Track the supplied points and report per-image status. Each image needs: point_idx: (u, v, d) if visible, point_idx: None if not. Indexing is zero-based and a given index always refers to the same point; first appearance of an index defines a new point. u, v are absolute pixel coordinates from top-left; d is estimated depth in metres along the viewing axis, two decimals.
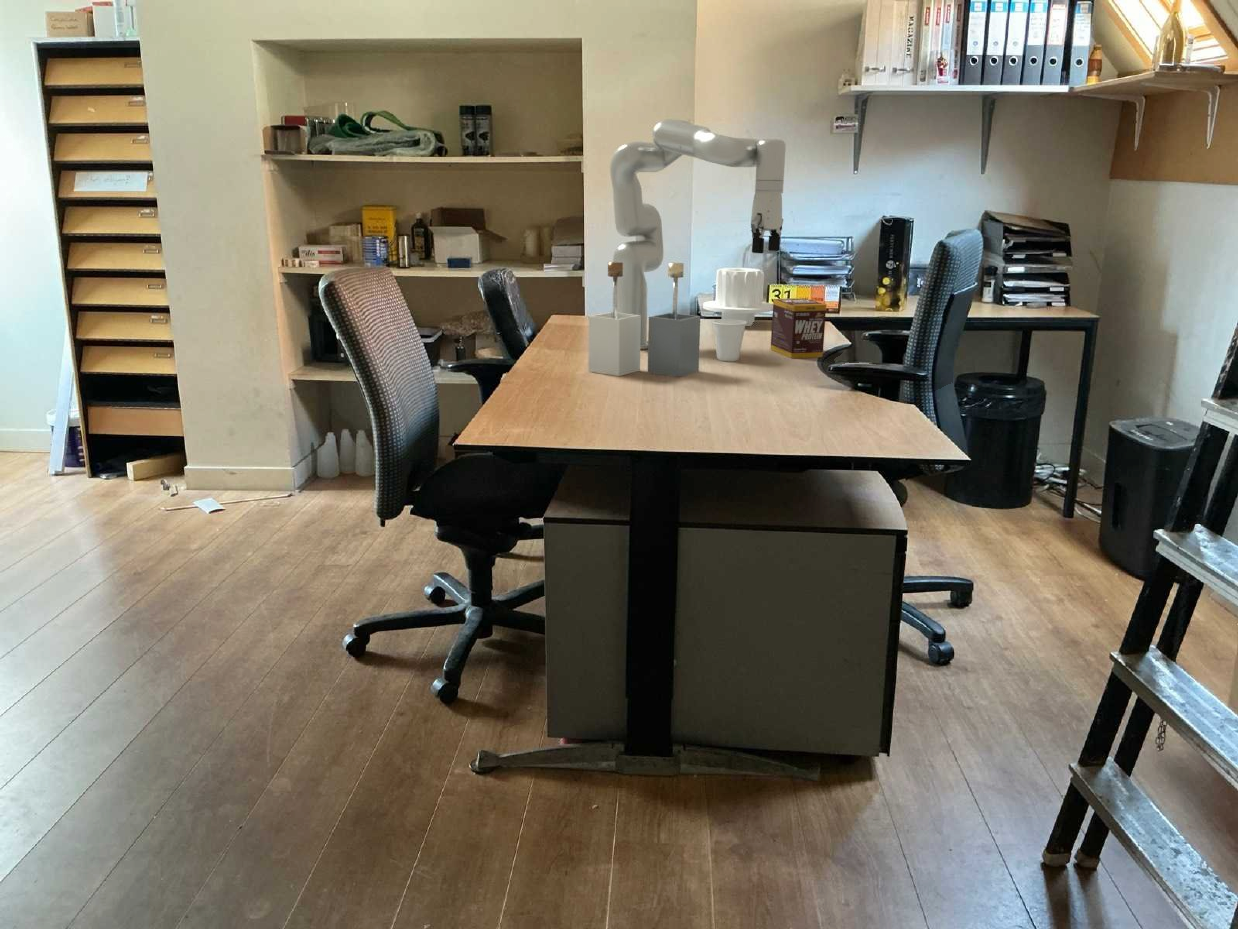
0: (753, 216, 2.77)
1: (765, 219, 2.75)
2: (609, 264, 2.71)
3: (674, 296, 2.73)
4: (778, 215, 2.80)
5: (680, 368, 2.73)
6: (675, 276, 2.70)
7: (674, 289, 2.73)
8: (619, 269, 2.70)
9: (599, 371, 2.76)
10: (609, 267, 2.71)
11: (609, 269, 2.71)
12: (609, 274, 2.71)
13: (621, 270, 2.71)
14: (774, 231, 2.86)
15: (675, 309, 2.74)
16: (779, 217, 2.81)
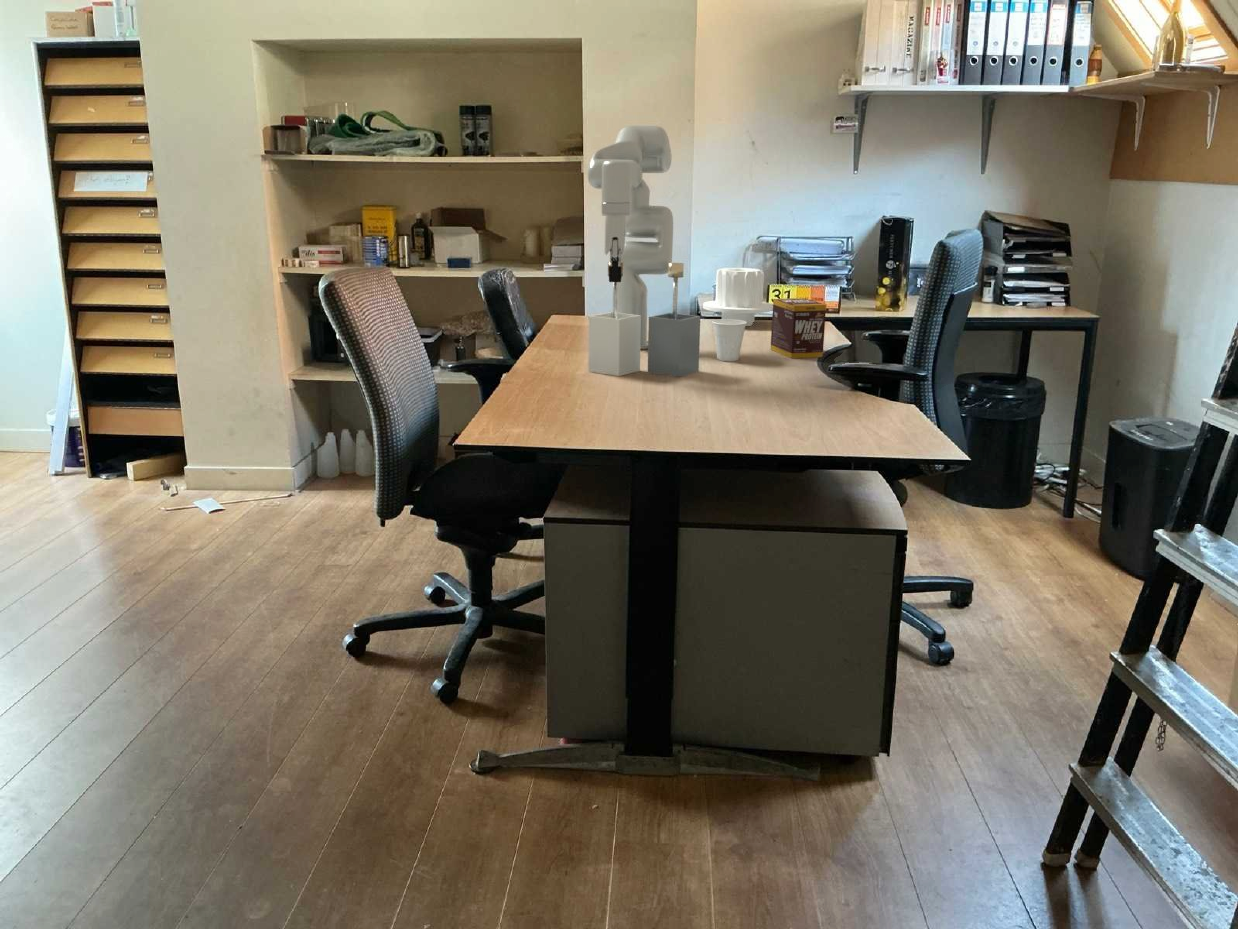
0: (608, 240, 2.65)
1: (622, 243, 2.65)
2: (609, 264, 2.71)
3: (674, 296, 2.73)
4: None
5: (680, 368, 2.73)
6: (675, 276, 2.70)
7: (674, 289, 2.73)
8: None
9: (599, 371, 2.76)
10: None
11: None
12: None
13: (621, 270, 2.71)
14: None
15: (675, 309, 2.74)
16: None
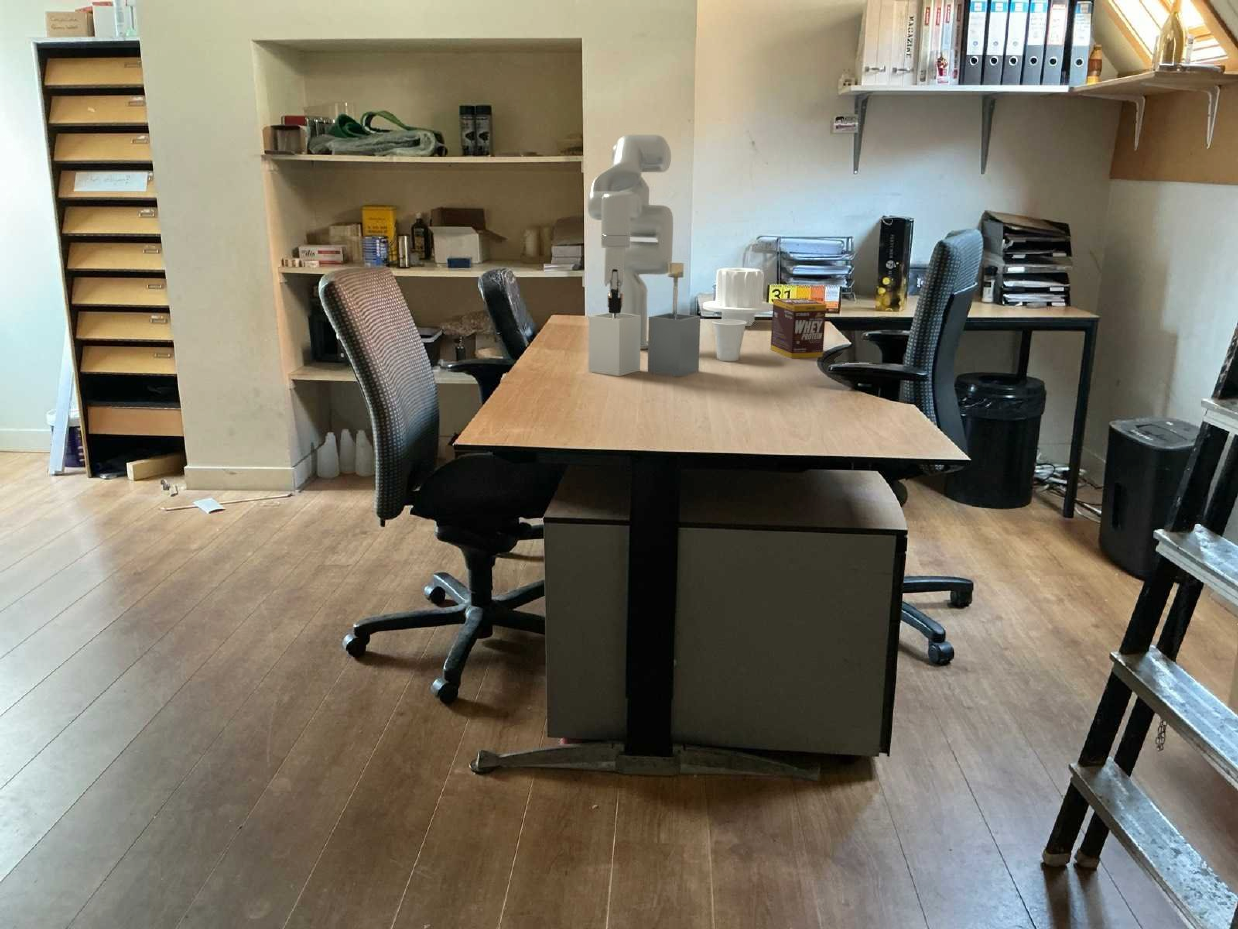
0: (608, 272, 2.67)
1: (621, 275, 2.68)
2: (609, 295, 2.73)
3: (674, 296, 2.73)
4: None
5: (680, 368, 2.73)
6: (675, 276, 2.70)
7: (674, 289, 2.73)
8: None
9: (599, 371, 2.76)
10: None
11: None
12: None
13: (621, 301, 2.73)
14: None
15: (675, 309, 2.74)
16: None
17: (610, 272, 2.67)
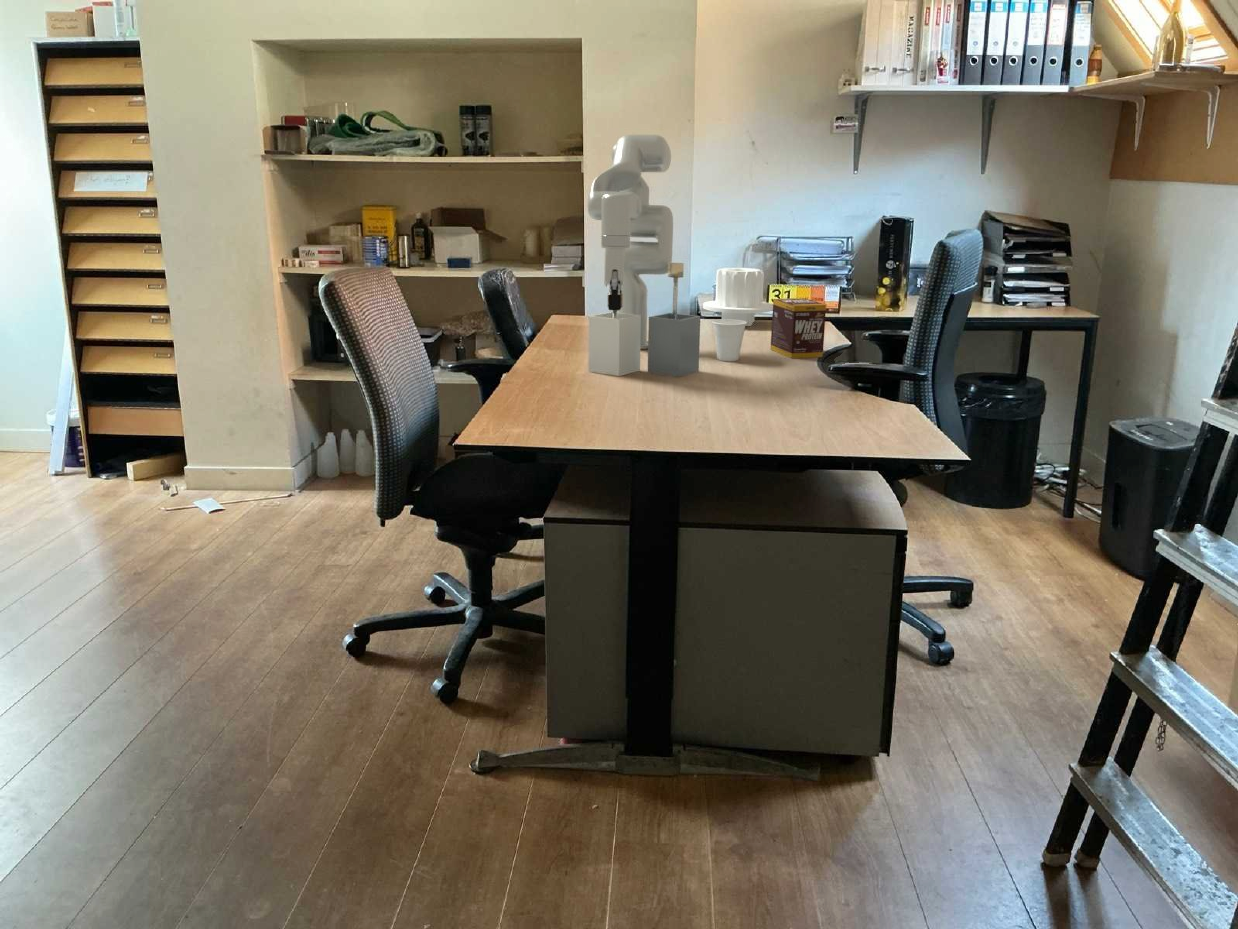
0: (608, 273, 2.67)
1: (621, 275, 2.68)
2: None
3: (674, 296, 2.73)
4: None
5: (680, 368, 2.73)
6: (675, 276, 2.70)
7: (674, 289, 2.73)
8: None
9: (599, 371, 2.76)
10: None
11: None
12: None
13: (621, 301, 2.73)
14: None
15: (675, 309, 2.74)
16: None
17: (610, 272, 2.67)
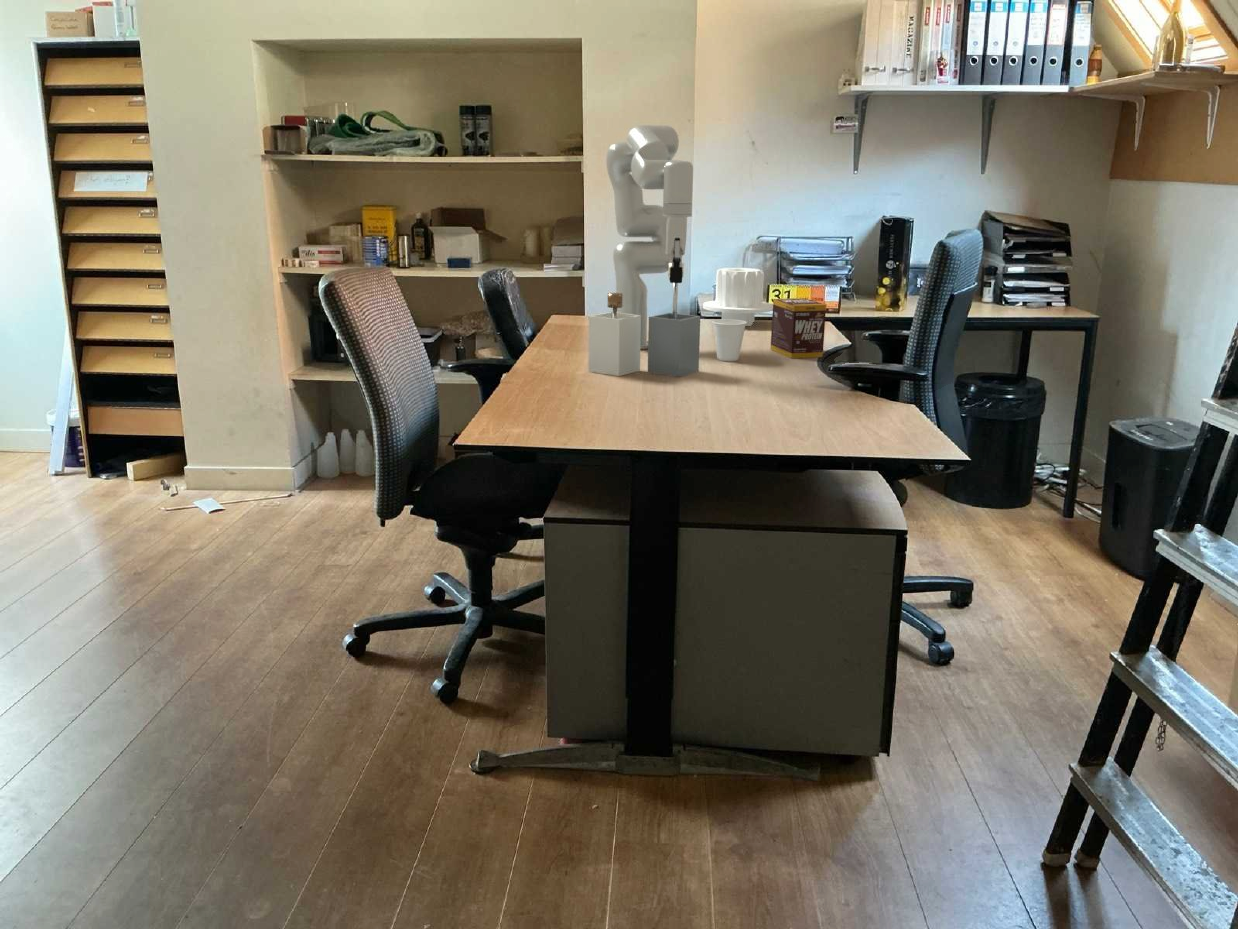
0: (670, 241, 2.65)
1: (684, 244, 2.65)
2: (609, 295, 2.73)
3: (674, 296, 2.73)
4: None
5: (680, 368, 2.73)
6: None
7: (674, 289, 2.73)
8: (618, 300, 2.73)
9: (599, 371, 2.76)
10: (609, 298, 2.73)
11: (609, 300, 2.73)
12: (609, 305, 2.74)
13: (621, 301, 2.73)
14: None
15: (675, 309, 2.74)
16: None
17: (672, 241, 2.65)
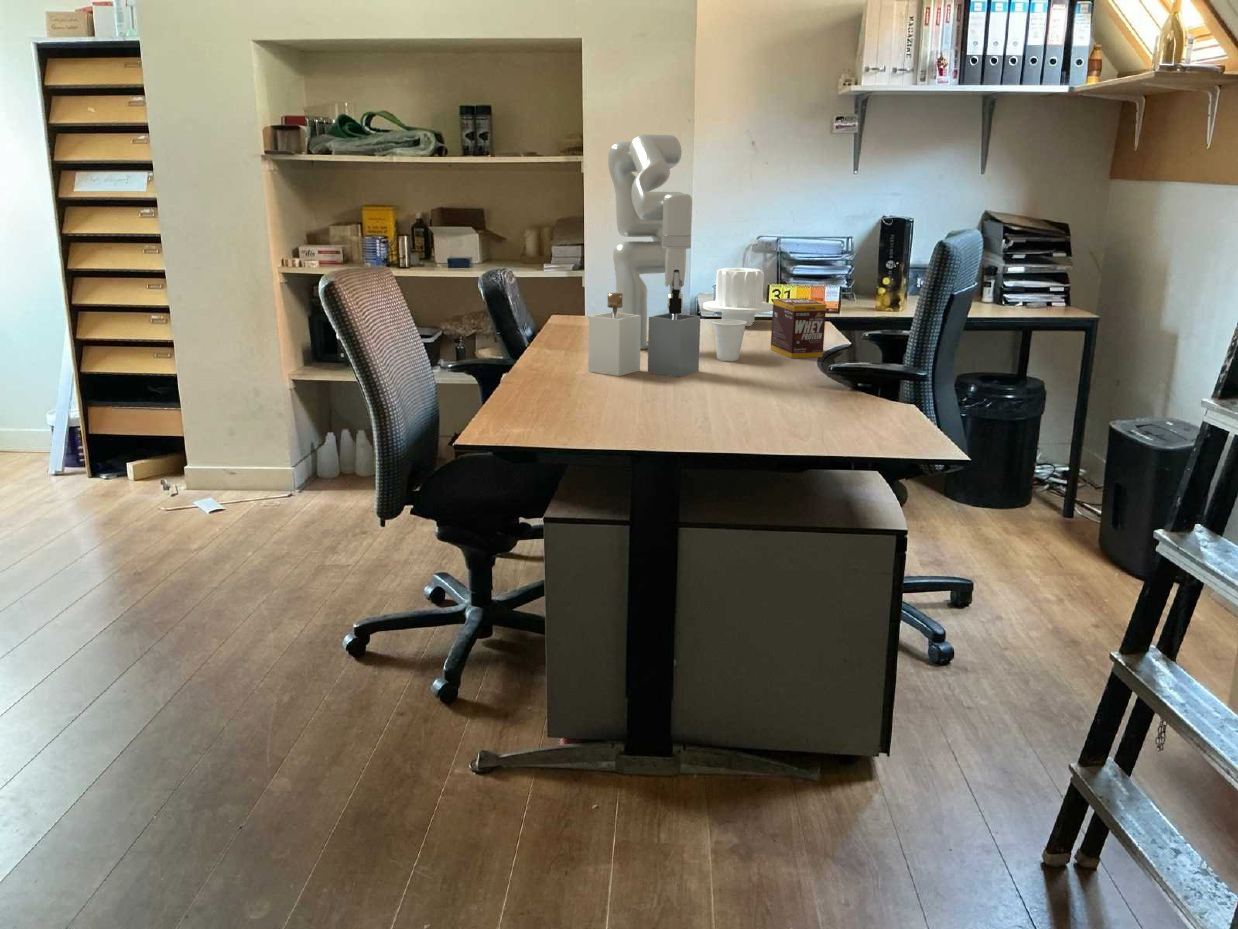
0: (669, 273, 2.67)
1: (683, 276, 2.67)
2: (609, 295, 2.73)
3: None
4: None
5: (680, 368, 2.73)
6: None
7: None
8: (618, 300, 2.73)
9: (599, 371, 2.76)
10: (609, 298, 2.73)
11: (609, 300, 2.73)
12: (609, 305, 2.74)
13: (621, 301, 2.73)
14: None
15: None
16: None
17: (672, 273, 2.67)
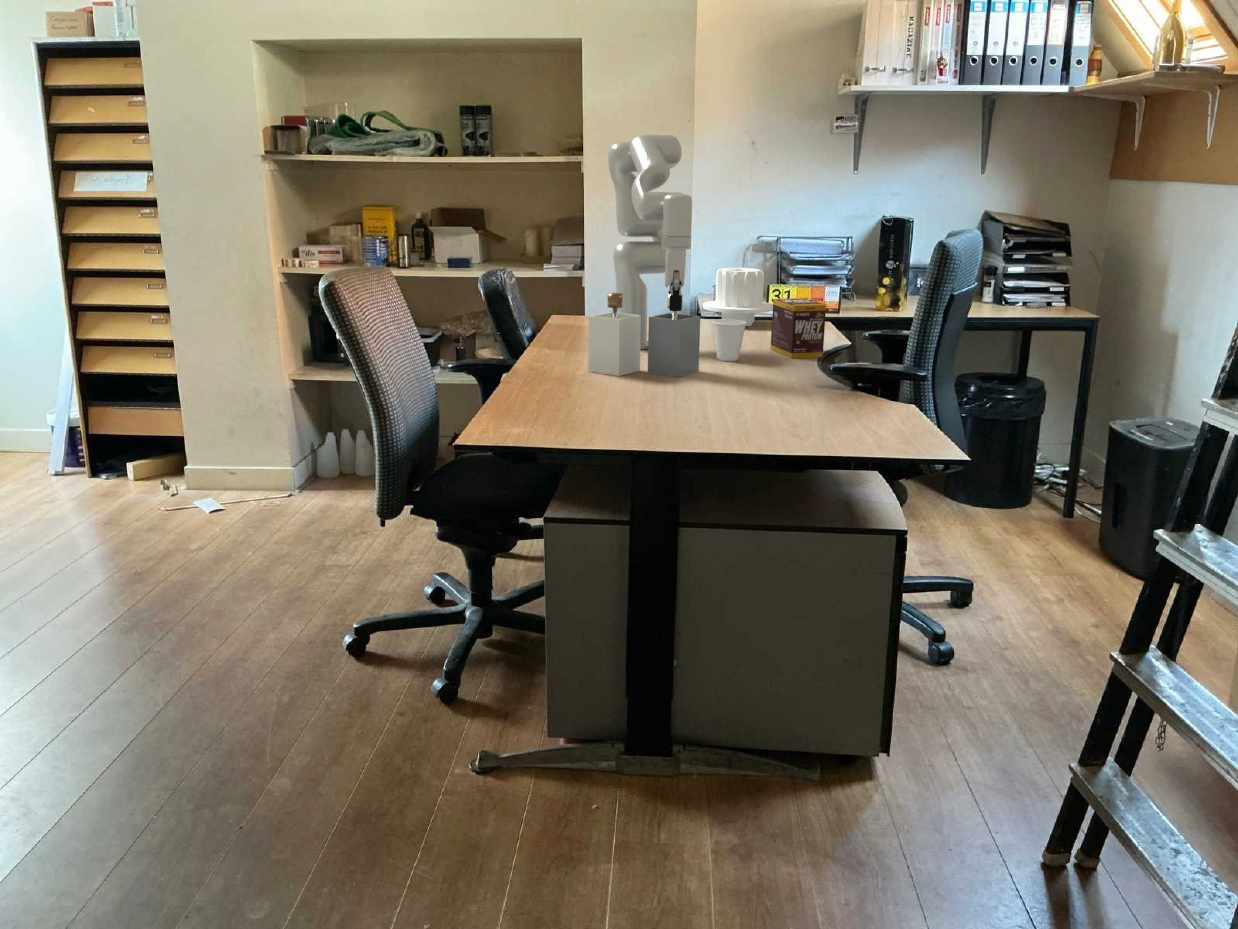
0: (669, 274, 2.67)
1: (683, 276, 2.68)
2: (609, 295, 2.73)
3: None
4: None
5: (680, 368, 2.73)
6: None
7: None
8: (618, 300, 2.73)
9: (599, 371, 2.76)
10: (609, 298, 2.73)
11: (609, 300, 2.73)
12: (609, 305, 2.74)
13: (621, 301, 2.73)
14: None
15: None
16: None
17: (672, 273, 2.67)
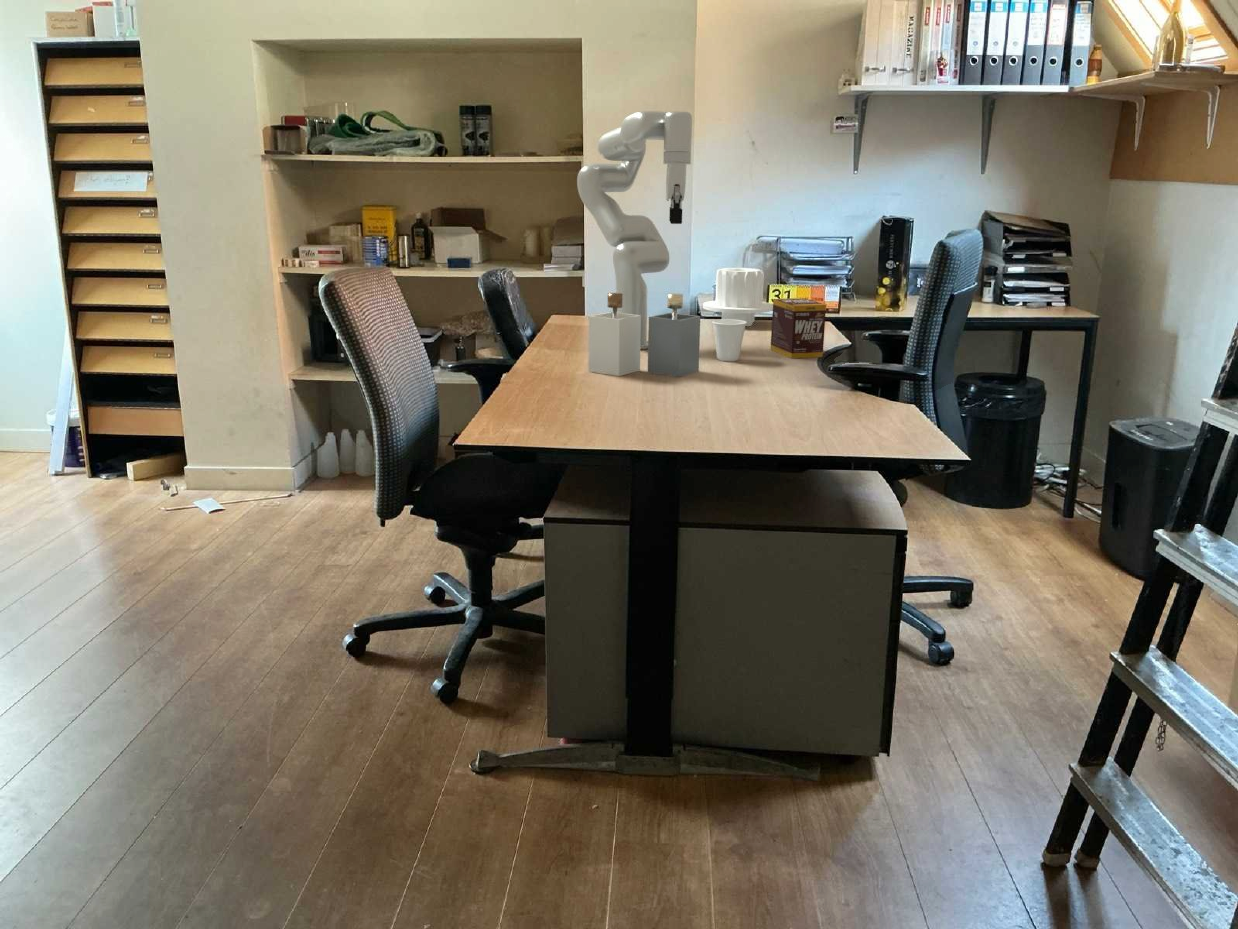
0: (670, 187, 2.81)
1: (683, 190, 2.81)
2: (609, 295, 2.73)
3: None
4: None
5: (680, 368, 2.73)
6: (674, 307, 2.73)
7: None
8: (618, 300, 2.73)
9: (599, 371, 2.76)
10: (609, 298, 2.73)
11: (609, 300, 2.73)
12: (609, 305, 2.74)
13: (621, 301, 2.73)
14: None
15: None
16: None
17: (672, 187, 2.81)
